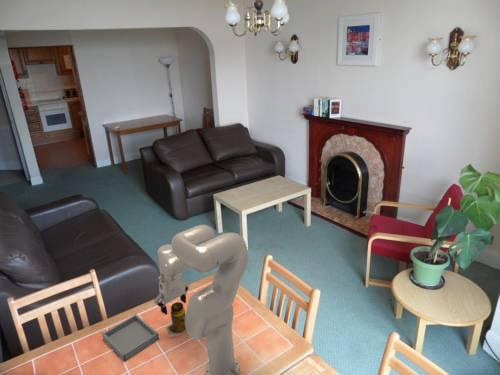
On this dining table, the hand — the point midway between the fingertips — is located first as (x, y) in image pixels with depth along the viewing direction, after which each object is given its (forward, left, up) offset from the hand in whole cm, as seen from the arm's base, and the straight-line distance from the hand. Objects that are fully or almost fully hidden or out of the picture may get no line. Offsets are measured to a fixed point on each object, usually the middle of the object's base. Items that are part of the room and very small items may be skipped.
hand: (174, 307), depth 158 cm
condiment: (-1, 0, -11) cm, 11 cm away
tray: (+9, +17, -11) cm, 22 cm away
